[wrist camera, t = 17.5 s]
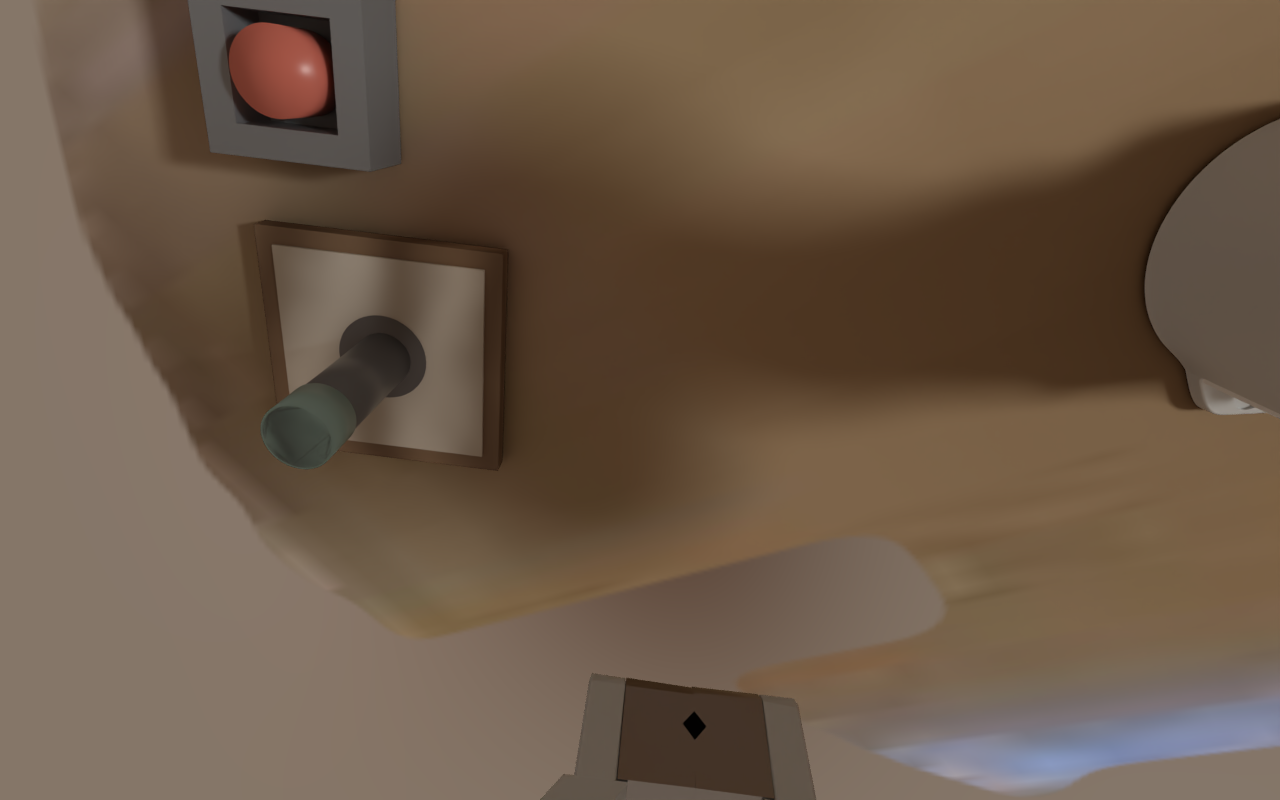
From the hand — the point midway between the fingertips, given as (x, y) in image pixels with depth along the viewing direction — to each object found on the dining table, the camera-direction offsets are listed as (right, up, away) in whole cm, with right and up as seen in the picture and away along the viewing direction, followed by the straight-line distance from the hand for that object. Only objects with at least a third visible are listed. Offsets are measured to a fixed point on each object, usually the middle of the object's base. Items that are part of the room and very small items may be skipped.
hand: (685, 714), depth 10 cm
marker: (-16, +7, +30) cm, 35 cm away
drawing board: (-16, +8, +32) cm, 36 cm away
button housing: (-17, +22, +25) cm, 38 cm away
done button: (-17, +21, +24) cm, 36 cm away
